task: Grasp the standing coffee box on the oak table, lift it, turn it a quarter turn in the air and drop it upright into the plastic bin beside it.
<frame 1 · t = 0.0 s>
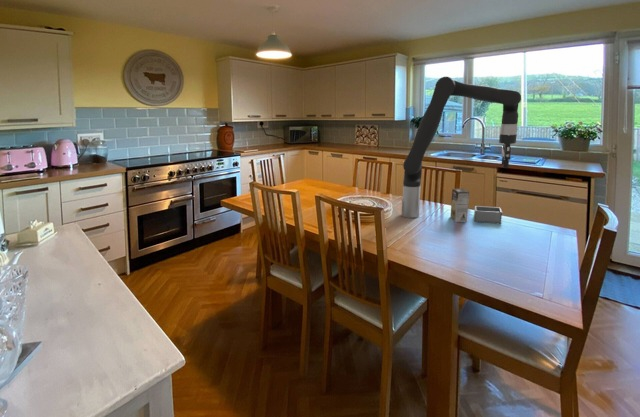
hand: (504, 166, 191), 29 cm above the table, tool pointing down, fingers open, 8 cm apart
coffee box: (458, 219, 205), on the table
bin: (486, 220, 203), on the table
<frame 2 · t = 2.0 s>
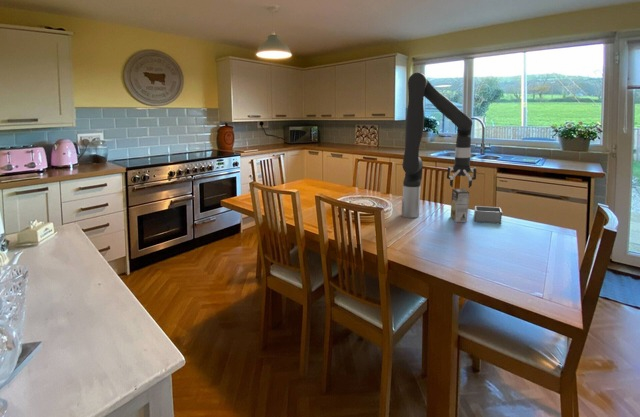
hand: (460, 187, 201), 18 cm above the table, tool pointing down, fingers open, 8 cm apart
nothing on the table moved.
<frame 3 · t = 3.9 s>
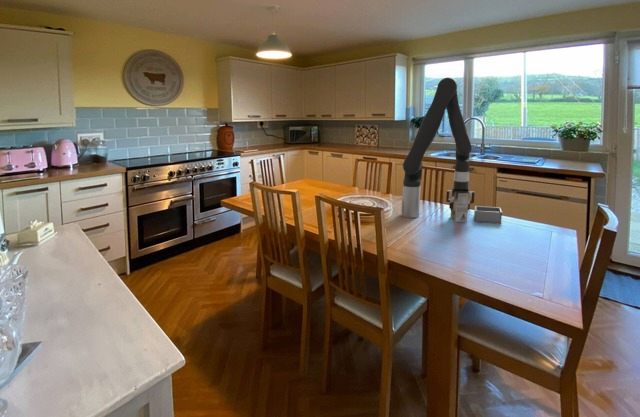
hand: (459, 209, 204), 5 cm above the table, tool pointing down, fingers closed on coffee box, 7 cm apart
coffee box: (458, 219, 205), on the table, touching gripper
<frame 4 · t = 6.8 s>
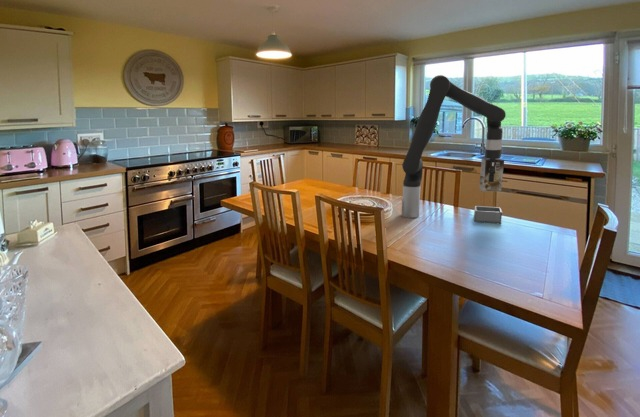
hand: (490, 180, 197), 21 cm above the table, tool pointing down, fingers closed on coffee box, 7 cm apart
coffee box: (490, 190, 199), point 16 cm above the table, touching gripper
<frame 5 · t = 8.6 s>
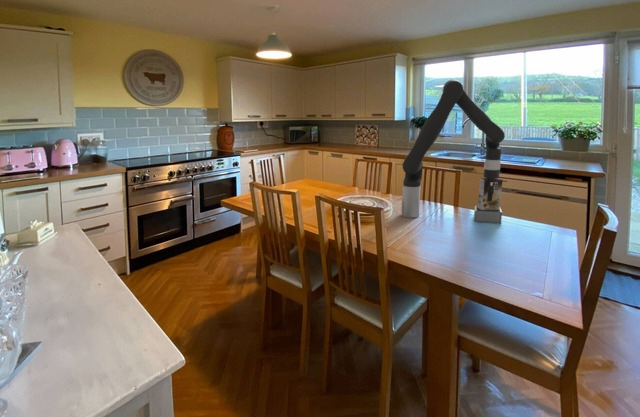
hand: (488, 199, 200), 11 cm above the table, tool pointing down, fingers closed on coffee box, 7 cm apart
coffee box: (488, 209, 201), point 6 cm above the table, touching gripper
when the fingers open (8 cm above the table, at t = 10.1 s): coffee box drops 2 cm, resting on bin.
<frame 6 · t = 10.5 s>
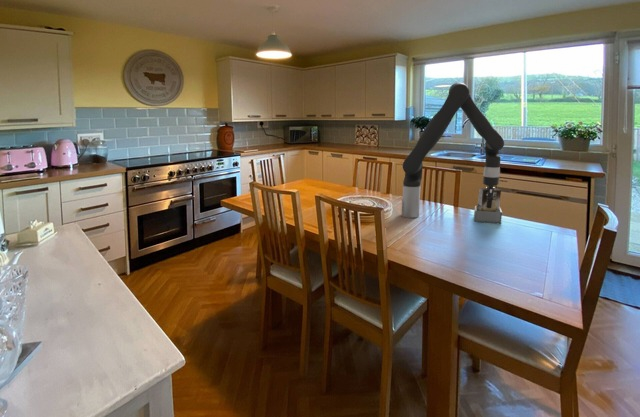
hand: (488, 205, 201), 8 cm above the table, tool pointing down, fingers open, 8 cm apart
coffee box: (486, 218, 203), point 1 cm above the table, touching bin
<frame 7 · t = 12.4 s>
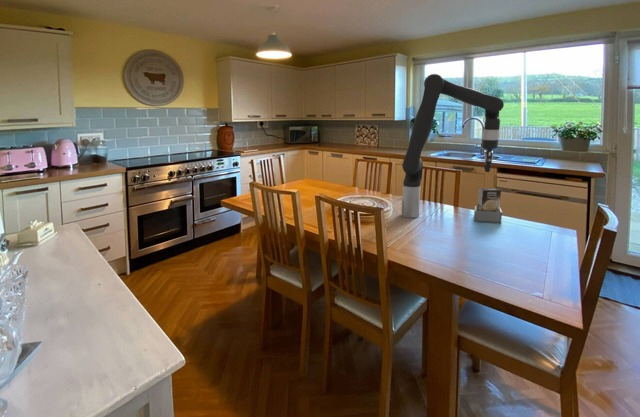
hand: (486, 170, 197), 26 cm above the table, tool pointing down, fingers open, 8 cm apart
nothing on the table moved.
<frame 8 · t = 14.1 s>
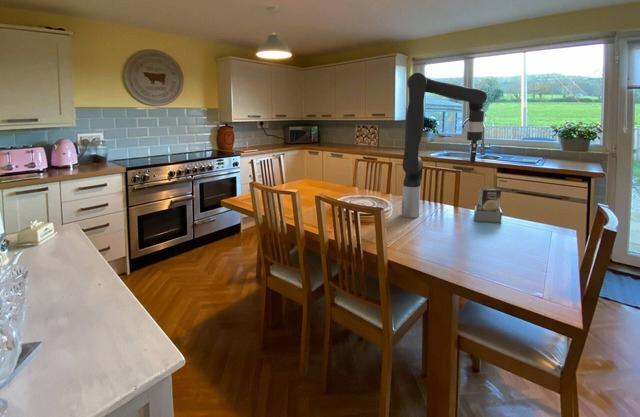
hand: (472, 162, 201), 30 cm above the table, tool pointing down, fingers open, 8 cm apart
nothing on the table moved.
at the end: coffee box 0.2 cm off-centre on the bin, point 0.6 cm above the bin's base; coffee box tilted 0°; the gripper is holding nothing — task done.
